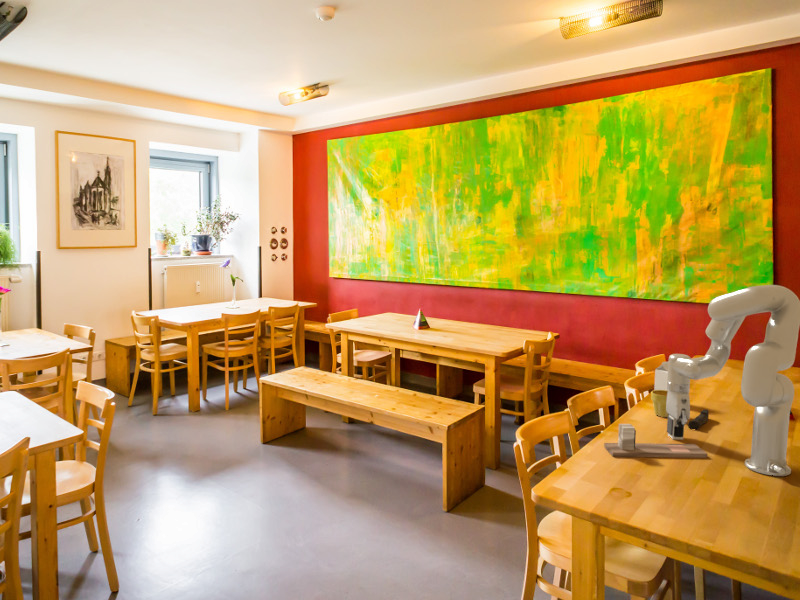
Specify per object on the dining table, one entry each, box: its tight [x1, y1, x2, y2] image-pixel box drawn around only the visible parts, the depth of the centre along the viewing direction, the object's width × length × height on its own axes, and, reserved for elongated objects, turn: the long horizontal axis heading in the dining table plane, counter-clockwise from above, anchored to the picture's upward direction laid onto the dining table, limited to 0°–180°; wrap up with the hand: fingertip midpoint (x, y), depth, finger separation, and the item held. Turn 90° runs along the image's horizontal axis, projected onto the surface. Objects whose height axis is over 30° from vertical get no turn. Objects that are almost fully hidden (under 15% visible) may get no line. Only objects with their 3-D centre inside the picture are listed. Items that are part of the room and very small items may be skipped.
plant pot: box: [650, 390, 669, 418], centre depth 237 cm, size 10×10×10 cm
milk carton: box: [653, 361, 668, 390], centre depth 255 cm, size 7×7×19 cm
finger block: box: [666, 415, 685, 440], centre depth 210 cm, size 4×4×8 cm
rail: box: [603, 423, 708, 459], centre depth 196 cm, size 9×32×10 cm, turn 88°
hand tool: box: [687, 408, 710, 431], centre depth 225 cm, size 19×4×5 cm, turn 134°
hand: (675, 434), depth 210 cm, fingers closed on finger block, 4 cm apart
